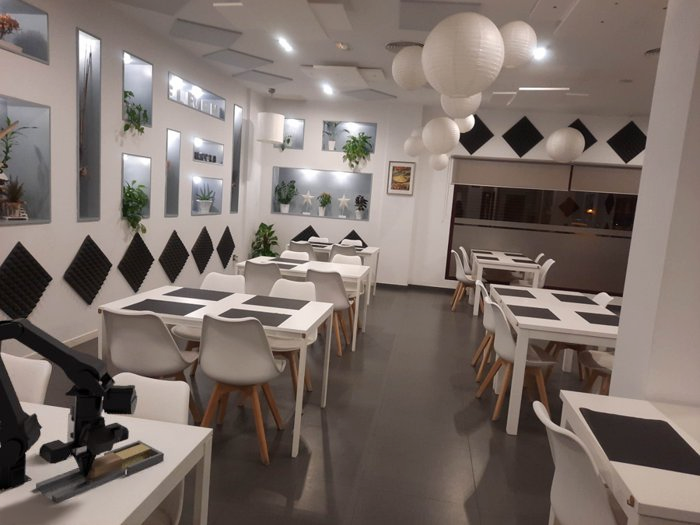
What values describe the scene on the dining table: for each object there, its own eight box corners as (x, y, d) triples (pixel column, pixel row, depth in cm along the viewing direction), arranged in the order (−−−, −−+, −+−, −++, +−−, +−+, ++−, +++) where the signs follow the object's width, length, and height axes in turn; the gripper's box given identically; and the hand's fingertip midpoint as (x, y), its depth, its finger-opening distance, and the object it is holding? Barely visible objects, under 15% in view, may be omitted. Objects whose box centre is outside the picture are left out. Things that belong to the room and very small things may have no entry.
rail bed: (35, 490, 115) (36, 483, 115) (104, 464, 129) (104, 457, 129) (55, 505, 110) (56, 498, 110) (125, 476, 124) (125, 469, 124)
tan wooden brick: (84, 474, 122) (85, 462, 122) (111, 464, 128) (112, 452, 128) (94, 481, 120) (95, 468, 120) (121, 470, 126) (122, 458, 125)
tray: (103, 462, 130) (104, 453, 129) (138, 449, 138) (139, 440, 138) (128, 477, 124) (128, 467, 123) (163, 462, 132) (163, 453, 132)
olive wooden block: (112, 465, 128) (113, 454, 128) (127, 459, 131) (127, 448, 131) (121, 470, 126) (122, 459, 125) (136, 465, 129) (136, 453, 129)
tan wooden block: (127, 459, 131) (127, 448, 131) (140, 454, 135) (141, 443, 134) (136, 465, 129) (136, 453, 129) (149, 459, 132) (150, 448, 132)
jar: (68, 454, 132) (69, 410, 131) (65, 441, 139) (67, 399, 138) (105, 447, 137) (107, 405, 136) (101, 435, 144) (103, 395, 143)
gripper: (65, 435, 106) (61, 505, 108) (144, 412, 122) (140, 473, 123) (39, 419, 113) (36, 486, 114) (117, 399, 128) (114, 458, 129)
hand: (84, 476), depth 120 cm, fingers closed
